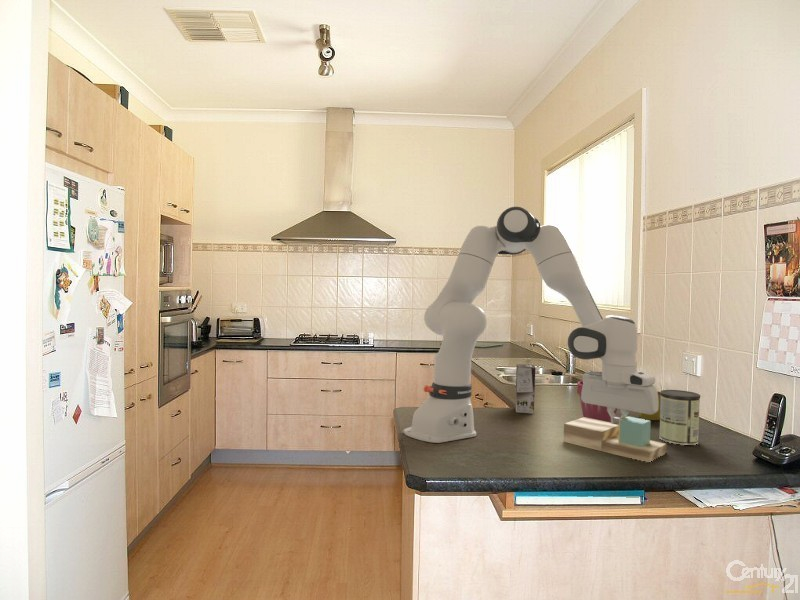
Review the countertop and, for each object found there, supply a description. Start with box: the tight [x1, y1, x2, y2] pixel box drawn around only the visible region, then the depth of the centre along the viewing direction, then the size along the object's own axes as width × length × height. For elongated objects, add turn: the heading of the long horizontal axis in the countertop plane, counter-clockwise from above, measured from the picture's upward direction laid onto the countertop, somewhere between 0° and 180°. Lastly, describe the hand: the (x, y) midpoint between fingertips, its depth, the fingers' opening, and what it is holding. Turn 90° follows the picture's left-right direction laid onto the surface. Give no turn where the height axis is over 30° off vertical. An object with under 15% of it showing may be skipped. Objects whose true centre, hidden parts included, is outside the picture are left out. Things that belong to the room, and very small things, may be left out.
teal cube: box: [618, 415, 652, 447], centre depth 140 cm, size 6×6×6 cm
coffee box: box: [515, 363, 536, 415], centre depth 185 cm, size 9×6×16 cm
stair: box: [563, 417, 668, 463], centre depth 143 cm, size 12×24×5 cm, turn 44°
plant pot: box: [576, 380, 618, 423], centre depth 171 cm, size 14×14×13 cm
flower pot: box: [637, 390, 661, 421], centre depth 178 cm, size 9×9×9 cm
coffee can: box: [658, 389, 701, 446], centre depth 152 cm, size 10×10×14 cm
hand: (617, 424), depth 143 cm, fingers closed
